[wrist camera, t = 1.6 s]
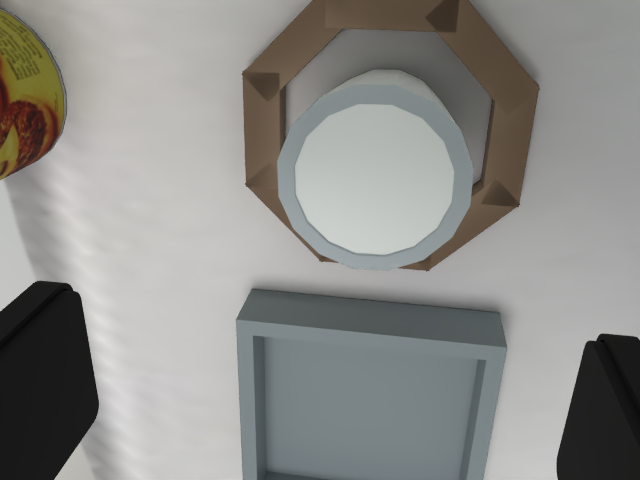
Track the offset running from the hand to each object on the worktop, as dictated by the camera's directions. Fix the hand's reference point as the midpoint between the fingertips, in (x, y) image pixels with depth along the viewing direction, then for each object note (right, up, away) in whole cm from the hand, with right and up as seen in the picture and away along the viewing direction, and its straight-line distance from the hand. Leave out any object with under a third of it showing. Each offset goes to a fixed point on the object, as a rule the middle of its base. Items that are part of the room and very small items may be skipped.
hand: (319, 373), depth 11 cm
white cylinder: (+3, +7, +16) cm, 18 cm away
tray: (+3, -6, +22) cm, 23 cm away
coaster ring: (+3, +7, +16) cm, 18 cm away
